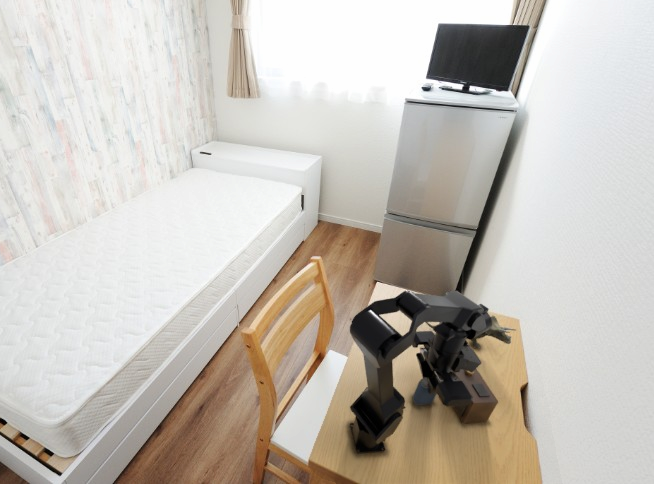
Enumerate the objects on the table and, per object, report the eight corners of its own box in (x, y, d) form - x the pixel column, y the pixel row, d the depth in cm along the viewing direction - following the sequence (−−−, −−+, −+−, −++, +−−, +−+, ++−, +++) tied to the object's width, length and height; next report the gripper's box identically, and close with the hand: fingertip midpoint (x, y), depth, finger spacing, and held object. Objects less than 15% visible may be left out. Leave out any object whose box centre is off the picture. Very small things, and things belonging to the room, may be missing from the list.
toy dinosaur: (421, 333, 106) (431, 305, 101) (425, 316, 113) (434, 289, 107) (501, 362, 98) (517, 334, 92) (501, 342, 104) (515, 314, 99)
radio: (461, 423, 82) (473, 400, 77) (441, 386, 90) (451, 363, 86) (486, 422, 82) (499, 399, 78) (464, 385, 91) (475, 362, 87)
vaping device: (434, 403, 86) (449, 373, 79) (415, 406, 85) (428, 376, 79) (429, 394, 88) (443, 363, 81) (410, 396, 87) (422, 366, 81)
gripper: (509, 378, 68) (482, 424, 76) (459, 312, 84) (441, 355, 92) (455, 381, 67) (434, 427, 75) (416, 313, 83) (401, 357, 91)
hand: (428, 388), depth 84 cm, fingers closed on vaping device, 2 cm apart
